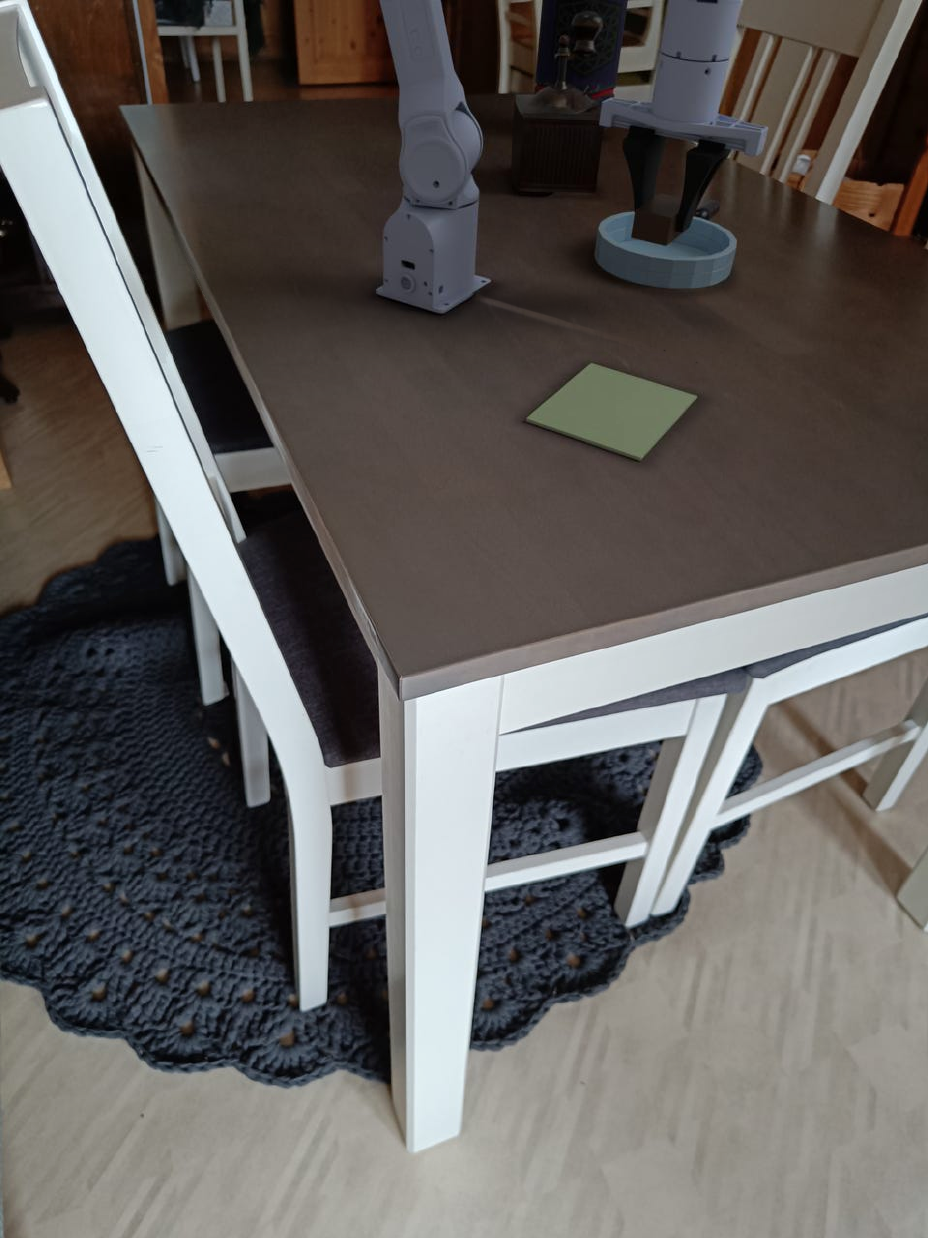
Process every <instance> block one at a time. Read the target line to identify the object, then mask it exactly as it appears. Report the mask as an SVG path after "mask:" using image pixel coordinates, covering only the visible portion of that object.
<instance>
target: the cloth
mask: <svg viewBox="0 0 928 1238" xmlns="http://www.w3.org/2000/svg"><path fill="white" fill-rule="evenodd" d="M697 398H698V396H697V395H695V394H692V393H689V392H687V391H684V390H683V391H682V390H680V389H676V388H673V387H669V386H666V385H663V384H660V383H658V382H654V381H650V380H648V379H645V378H641V377H638V376H635V375H631V374H628V373H625V372H622V371H619V370H614V369H611V368H608V367H606V366H602V365H599V364H596V363H593V362H591V363H589V364H588V365H586V367H585V368H583V369H582V370H581V371H579V373H578V374H577V373H576V375H575V376H574V377H572V378H571V379H570V380H569V381H568V382H567V383H565V384H564V385H563V386H562V387H561V388H560V389H559V390H558V391H556V392H555V393H553V395H552V396H551V397H549V398H547V400H546V401H545V402H544V403H542V404H541V405H540V406H538V407H537V408H536V409H535V410H534V411H533V412H532V413H530V414H529V415H528V416H527V417H526V418H525V422H526V423H529V424H532V425H535V426H538V427H540V428H543V429H547V430H549V431H553V432H555V433H558V434H561V435H564V436H567V437H570V438H573V439H576V440H579V441H581V442H585V443H587V444H589V445H592V446H595V447H599V448H600V449H604V450H606V451H607V450H608V451H610V452H612V453H615V454H619V455H621V456H625V457H628V458H630V459H633V460H636V461H639V462H641V461H642V460H643V458H645V456H647V454H648V453H649V452H650V451H651V450H652V449H653V447H655V446H656V444H657V443H658V442H659V441H660V440H661V439H662V438H663V437H664V435H666V433H667V432H668V431H669V430H670V429H671V428H672V427H673V425H675V424H676V422H677V421H678V420H679V419H680V418H681V417H682V416H683V415H684V413H686V411H687V410H688V409H689V408H690V407H691V406H692V405H693V404H694V403H695V402H696V400H697Z"/></svg>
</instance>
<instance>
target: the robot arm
mask: <svg viewBox="0 0 928 1238" xmlns="http://www.w3.org/2000/svg"><path fill="white" fill-rule="evenodd" d="M742 1H743V0H668V3H667V7H666V8H667V9H666V15H665V21H664V26H663V32H662V40H661V43H660V51H659V56H658V61H657V67H656V74H655V79H654V85H653V92H652V98H651V102H650V101H643V100H642V101H641V100H631V99H623V98H617V97H614V98H609V99H607V100H605V101H603V102H602V108H601V115H600V123H599V125H601V126H606V127H609V128H611V127H617V128H622V129H626V130H628V133H627V134H626V137H624V138H622V143H621V149H622V152H623V155H624V157H625V161H626V163H627V168H628V170H629V175H630V180H631V187H632V193H633V194H632V195H633V203H634V204H633V206H634V211H635V210H636V209H637V208H639V207H640V206H642V205H643V204H645V203H646V202H648V201H649V200H651V199H652V198H654V197H655V190H656V184H657V178H658V174H659V169H660V165H661V161H662V158H663V155H664V150H665V147H666V144H667V140H668V138H671V139H675V140H681V141H687V142H692V143H696V144H697V145H696V146H693V147H692V148H690V149H689V150H687V151H686V154H685V169H684V180H683V189H682V190H683V191H682V195H681V198H682V200H681V204H680V208H679V212H678V217H677V224H676V231H677V232H681V233H683V232H684V231H686V230H687V229H688V228H689V227H690V225H691V222H692V219H693V217H694V214H695V212H696V210H697V209H698V208H699V205H700V203H701V201H702V199H703V197H704V194H705V193H706V191H707V189H708V187H709V186H710V184H711V182H712V181H713V179H714V178H715V176H716V174H717V173H718V171H719V170H720V169H721V167H722V166H723V164H724V163H725V161H726V160H727V159H728V157H729V156H730V154H731V152H732V151H736V152H741V153H743V154H744V155H745V156H749V157H753V158H756V157H757V156H759V155H760V154H761V153H763V151H764V147H765V144H766V139H767V135H768V131H769V127H768V126H764V125H759V124H756V123H755V124H754V123H751V122H748V121H744V120H741V119H738V118H734V117H730V116H728V115H724V114H721V113H719V110H720V105H721V100H722V95H723V91H724V86H725V81H726V76H727V71H728V66H729V62H730V58H731V55H732V54H731V53H732V48H733V44H734V40H735V34H736V30H737V24H738V21H739V17H740V16H739V15H740V11H741V6H742ZM379 4H380V8H381V12H382V17H383V22H384V26H385V30H386V35H387V38H388V43H389V48H390V52H391V57H392V61H393V65H394V69H395V73H396V79H397V83H398V87H399V98H398V99H399V100H398V126H399V129H400V133H401V149H400V153H399V159H398V169H399V175H400V178H401V181H402V184H403V185H402V196H401V197H402V199H401V202H400V205H399V207H398V209H397V210H396V211H395V212H394V213H392V215H390V216H389V217H388V219H387V220H386V222H385V223H384V227H383V230H382V284H381V286H379V287H377V288H376V289H375V294H376V295H379V296H381V297H385V298H388V299H391V300H395V301H397V302H401V303H404V304H407V305H411V306H413V307H417V308H420V309H423V310H426V311H430V312H433V313H436V314H439V315H440V314H441V315H442V314H446V313H447V312H449V311H450V310H452V309H454V308H455V307H456V306H459V305H460V304H461V303H463V302H465V301H466V300H468V299H470V298H471V297H474V295H476V293H475V292H477V291H478V290H479V289H481V288H483V287H484V286H487V284H489V283H491V281H492V280H491V279H490V278H488V277H483V276H480V275H476V258H477V257H476V255H477V239H478V222H479V221H478V220H479V203H480V189H479V188H478V186H477V185H476V182H475V180H474V178H473V177H474V176H473V175H472V170H473V169H474V168H475V167H476V165H477V164H478V163H479V161H480V158H481V157H482V153H483V149H484V148H483V147H484V137H483V131H482V129H481V126H480V124H479V122H478V121H477V119H476V118H475V116H474V115H473V113H472V112H471V111H470V109H469V106H468V104H467V101H466V97H465V91H464V90H465V89H464V87H463V85H462V82H461V81H460V78H459V77H458V75H457V73H456V70H455V68H454V67H455V66H454V63H453V58H452V52H451V46H450V42H449V37H448V33H447V25H446V22H445V15H444V12H443V6H442V1H441V0H379Z"/></svg>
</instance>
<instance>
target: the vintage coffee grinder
mask: <svg viewBox="0 0 928 1238" xmlns="http://www.w3.org/2000/svg"><path fill="white" fill-rule="evenodd" d="M602 27H603V22H602V18H601V17H600V16H599V15H598V14H597V13H596V12H592V11H581V12H580V13H578V14H577V15H575V17H574V19H573V21H572V29H573V31H574V33H575V35H576V38H577V43H576V46H575V48H574V50H573V51H574V53H570V51H569V49H568V45H569V42H570V40H569V37H568V36H567V35H563V36H561V37H560V39H559V45H560V48H559V49H558V51H559V53H558V54H555V59H556V60H557V61H559V70H558V80H557V82H556V84H555V85H553V86H548V87H546V88H544V89H542V90H540V91H539V92H537V93H536V94H534V93H532V94H525V93H523V94H521V93H520V94H519V93H518V94H515V96H514V105H513V120H512V138H511V165H510V171H509V173H510V178H511V179H510V180H511V182H512V185H513V187H514V190H515V192H516V194H517V195H524V196H543V197H550V196H551V195H554V194H555V193H574V194H577V193H578V194H597V186H598V185H597V184H598V175H599V169H600V161H601V154H602V148H603V139H604V134H605V133H604V132H605V131H604V126H601V125H599V123H600V115H601V108H600V107H599V105H598V101H597V100H596V99H595V98H594V97H593V96H587V95H586V93H587V91H588V89H589V85H588V86H587V87H586V89H585V90H584V92H583V91H581V90H579V89H577V88H576V87H574V86H572V85H571V84H568V85H566V82H565V75H566V63H567V61H570V60H573V59H576V58H579V57H581V58H582V59H583V60H584V59H585V57H587V56H588V55H589V54H595V53H596V50H595V47H594V41H595V39H596V37H597V36H598V34H599V33H600V32H601V31H602Z"/></svg>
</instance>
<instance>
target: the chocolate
mask: <svg viewBox="0 0 928 1238" xmlns="http://www.w3.org/2000/svg"><path fill="white" fill-rule="evenodd" d="M681 200H682V197H679V196H675V195H670V194H665V193H661V192H660V193H659V194H657V195H654V198H652V199H651V200H649V201H648V202H646V203H645V204H643V205H642V206H640V207H639V208H637V209H636V210H635V209H634V211H635V216H634V222H633V228H632V234H631V238H635V239H639V240H643V241H647V242H651V243H655V244H659V245H663V246H667V245H668V244H669V243H671V242H672V241H673V240H674V239H676V238H677V237H678V236H680V235H681V234H682V233H681V232H677V231H676V224H677V217H678V212H679V208H680V204H681ZM688 229H689V228H688ZM684 232H685V231H684Z"/></svg>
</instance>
